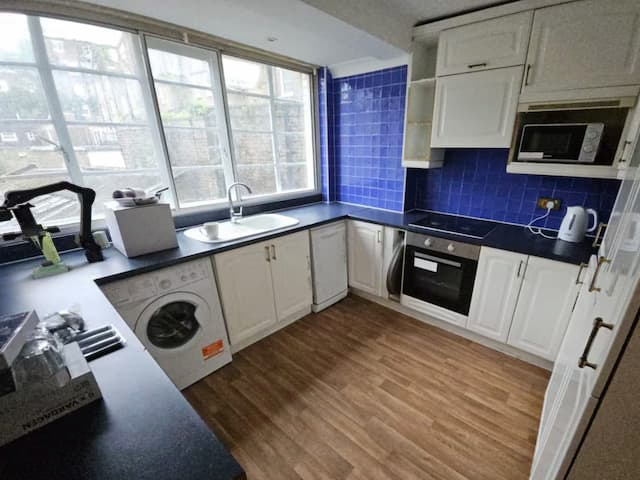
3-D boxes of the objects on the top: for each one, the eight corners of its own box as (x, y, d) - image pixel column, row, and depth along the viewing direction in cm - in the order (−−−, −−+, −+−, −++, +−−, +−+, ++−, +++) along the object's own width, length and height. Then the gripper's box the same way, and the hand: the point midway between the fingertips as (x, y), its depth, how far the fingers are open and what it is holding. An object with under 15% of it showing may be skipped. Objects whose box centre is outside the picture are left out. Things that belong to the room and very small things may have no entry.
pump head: (53, 263, 149) (51, 259, 148) (54, 265, 146) (52, 261, 145) (42, 266, 146) (40, 262, 145) (43, 268, 143) (41, 264, 143)
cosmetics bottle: (102, 246, 184) (96, 231, 180) (110, 246, 185) (104, 230, 181) (98, 249, 179) (91, 233, 175) (106, 248, 180) (100, 232, 176)
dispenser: (66, 266, 155) (63, 259, 153) (68, 271, 148) (65, 264, 147) (34, 273, 147) (30, 266, 145) (35, 279, 140) (31, 271, 139)
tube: (59, 262, 160) (43, 227, 152) (46, 264, 157) (29, 229, 150) (62, 259, 164) (46, 225, 156) (49, 261, 162) (33, 227, 154)
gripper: (-6, 225, 125) (12, 259, 131) (54, 217, 138) (68, 248, 144) (-5, 221, 132) (12, 253, 138) (52, 213, 145) (65, 243, 151)
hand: (40, 250), depth 143 cm, fingers closed
